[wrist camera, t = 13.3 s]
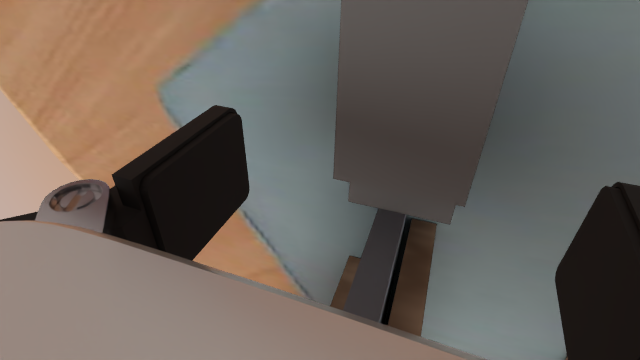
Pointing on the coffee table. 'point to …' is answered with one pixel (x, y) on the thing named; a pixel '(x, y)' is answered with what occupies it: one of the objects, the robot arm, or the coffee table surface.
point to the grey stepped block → (418, 98)
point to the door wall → (402, 279)
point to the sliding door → (377, 268)
